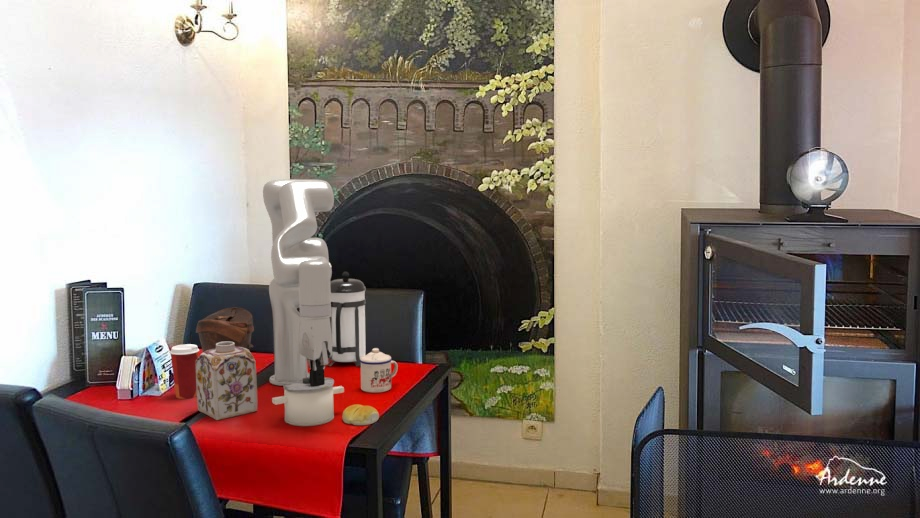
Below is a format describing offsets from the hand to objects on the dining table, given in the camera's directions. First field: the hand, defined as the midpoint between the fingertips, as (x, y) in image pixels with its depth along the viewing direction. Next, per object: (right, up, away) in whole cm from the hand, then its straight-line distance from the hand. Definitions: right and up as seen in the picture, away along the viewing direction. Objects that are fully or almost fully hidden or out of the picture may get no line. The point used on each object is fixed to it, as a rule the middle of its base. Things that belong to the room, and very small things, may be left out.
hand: (317, 384), depth 185 cm
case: (-40, -4, +58) cm, 71 cm away
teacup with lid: (+12, -7, +33) cm, 35 cm away
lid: (-3, -1, +4) cm, 5 cm away
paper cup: (-41, -8, +25) cm, 49 cm away
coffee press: (-2, -3, +61) cm, 61 cm away
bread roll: (+10, -10, +4) cm, 15 cm away
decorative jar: (-26, -9, +12) cm, 29 cm away
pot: (-3, -9, +5) cm, 11 cm away
